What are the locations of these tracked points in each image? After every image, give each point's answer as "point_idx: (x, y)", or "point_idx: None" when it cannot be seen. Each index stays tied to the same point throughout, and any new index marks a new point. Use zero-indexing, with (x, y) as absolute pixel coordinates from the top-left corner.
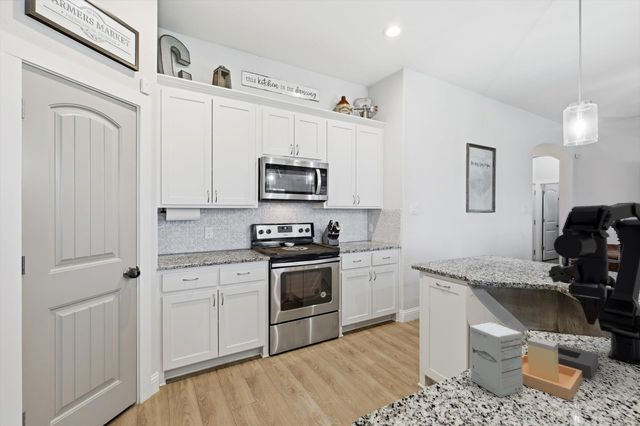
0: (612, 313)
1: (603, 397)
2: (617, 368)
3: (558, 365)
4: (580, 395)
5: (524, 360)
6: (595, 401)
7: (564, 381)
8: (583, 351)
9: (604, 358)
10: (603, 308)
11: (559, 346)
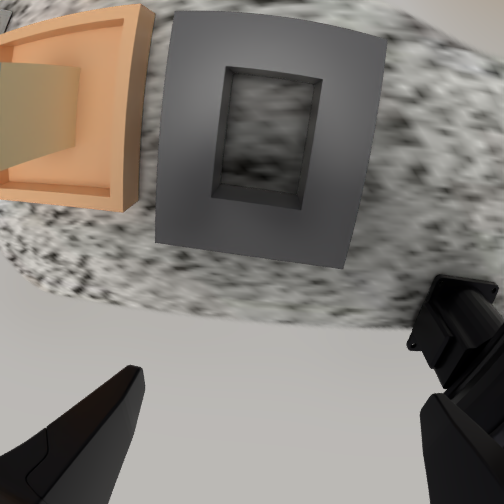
0: (499, 425)
1: (78, 248)
2: (349, 293)
3: (46, 154)
4: None
5: (121, 23)
6: (45, 233)
7: (69, 162)
8: (337, 219)
9: (425, 264)
10: (426, 474)
11: (338, 122)
